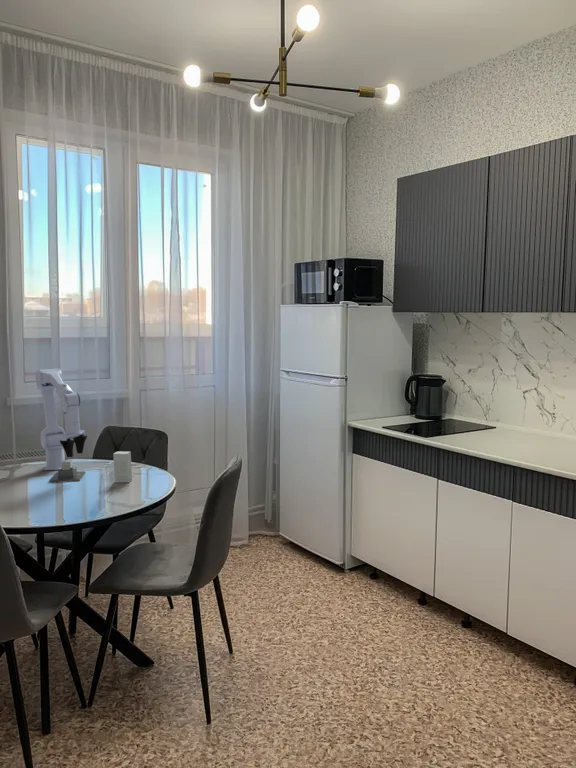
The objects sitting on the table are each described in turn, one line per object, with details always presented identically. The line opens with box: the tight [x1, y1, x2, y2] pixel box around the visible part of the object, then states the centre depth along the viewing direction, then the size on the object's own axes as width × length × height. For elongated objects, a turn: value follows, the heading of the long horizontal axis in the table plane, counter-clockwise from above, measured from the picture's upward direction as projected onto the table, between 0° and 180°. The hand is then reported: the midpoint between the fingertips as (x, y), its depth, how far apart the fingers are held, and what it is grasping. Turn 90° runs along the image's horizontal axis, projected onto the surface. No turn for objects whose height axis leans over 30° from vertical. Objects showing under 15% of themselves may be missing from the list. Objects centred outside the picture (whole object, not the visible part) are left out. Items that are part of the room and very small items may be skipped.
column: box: [61, 459, 73, 471], centre depth 257 cm, size 4×4×7 cm
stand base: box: [48, 466, 86, 483], centre depth 257 cm, size 12×12×4 cm
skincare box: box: [112, 451, 133, 483], centre depth 251 cm, size 6×4×12 cm
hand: (74, 455), depth 254 cm, fingers open, 7 cm apart
